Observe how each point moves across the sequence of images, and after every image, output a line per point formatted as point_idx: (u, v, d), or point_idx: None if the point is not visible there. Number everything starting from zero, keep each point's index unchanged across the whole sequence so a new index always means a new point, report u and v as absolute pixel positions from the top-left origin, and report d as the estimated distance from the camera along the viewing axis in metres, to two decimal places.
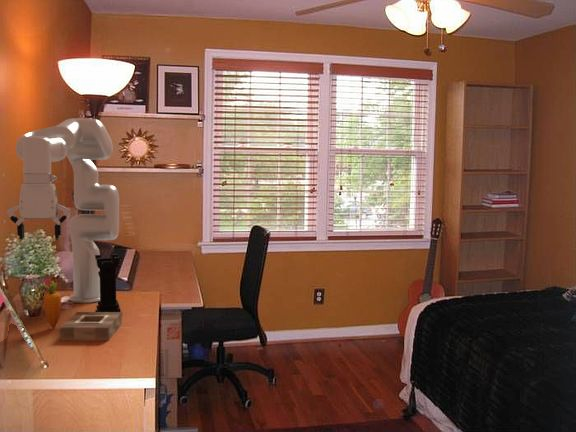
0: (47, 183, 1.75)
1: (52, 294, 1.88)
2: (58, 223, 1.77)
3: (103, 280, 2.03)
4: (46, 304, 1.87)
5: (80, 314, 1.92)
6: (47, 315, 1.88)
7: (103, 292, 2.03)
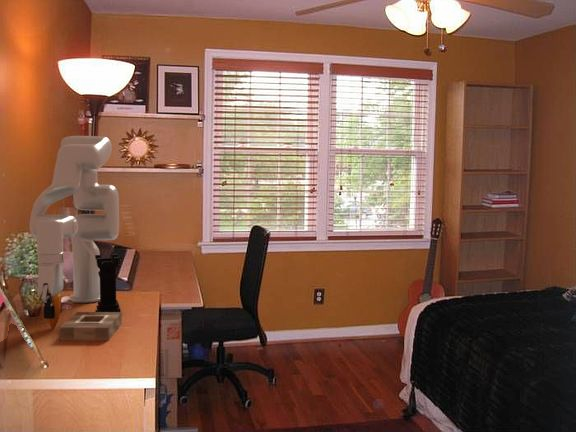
0: None
1: None
2: (60, 298, 1.92)
3: (103, 280, 2.03)
4: None
5: (80, 314, 1.92)
6: None
7: (103, 292, 2.03)
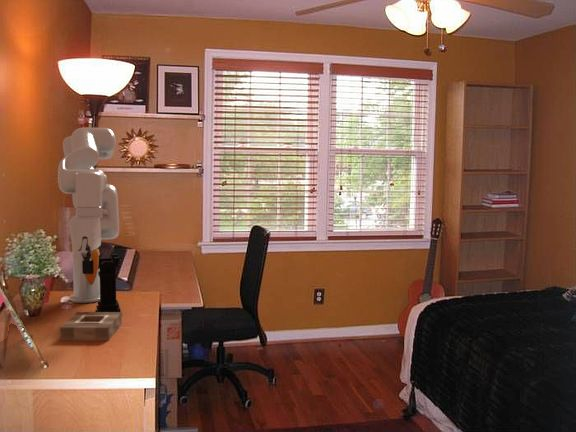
0: None
1: None
2: None
3: (103, 280, 2.03)
4: None
5: (80, 314, 1.92)
6: None
7: (103, 292, 2.03)
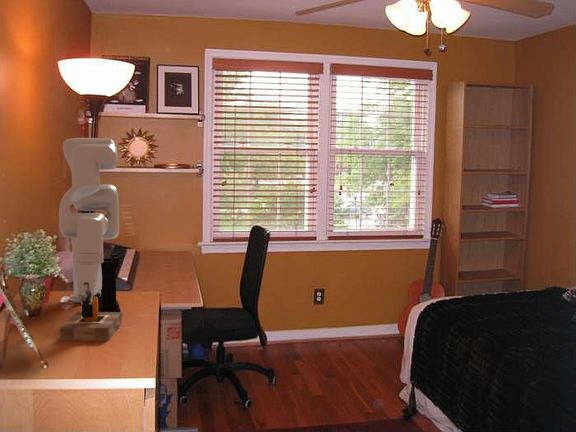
0: None
1: (89, 297, 1.84)
2: (100, 294, 1.91)
3: (103, 280, 2.03)
4: None
5: (80, 314, 1.92)
6: (85, 319, 1.85)
7: (103, 292, 2.03)
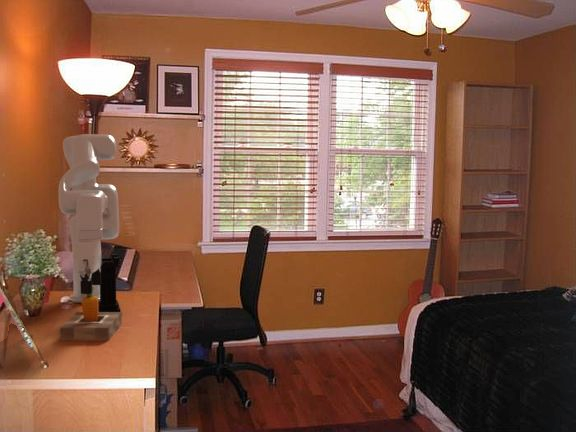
0: None
1: (90, 298, 1.84)
2: (100, 270, 1.91)
3: (103, 280, 2.03)
4: (84, 307, 1.84)
5: (80, 314, 1.92)
6: (85, 319, 1.85)
7: (103, 292, 2.03)
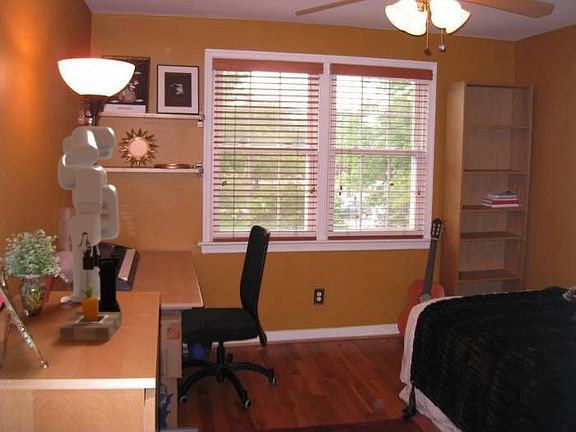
0: None
1: (89, 297, 1.84)
2: (97, 251, 1.87)
3: (103, 280, 2.03)
4: (84, 307, 1.84)
5: (80, 314, 1.92)
6: (85, 319, 1.85)
7: (103, 292, 2.03)
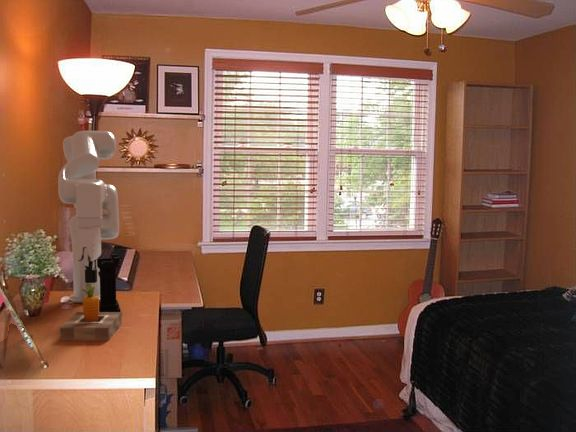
0: None
1: (91, 297, 1.85)
2: (95, 267, 1.86)
3: (103, 280, 2.03)
4: (85, 307, 1.84)
5: (80, 314, 1.92)
6: (86, 319, 1.85)
7: (103, 292, 2.03)
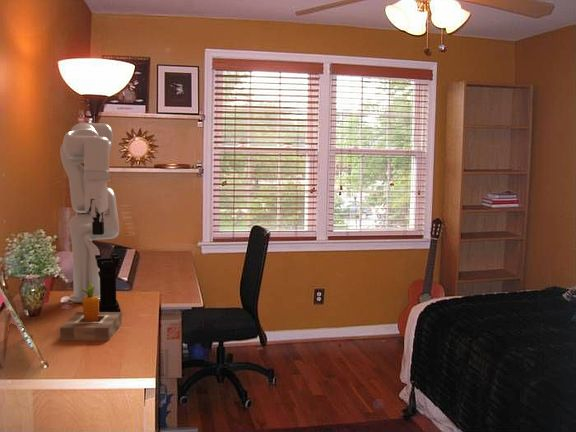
0: None
1: (90, 297, 1.85)
2: (102, 219, 1.93)
3: (103, 280, 2.03)
4: (85, 307, 1.84)
5: (80, 314, 1.92)
6: (86, 319, 1.85)
7: (103, 292, 2.03)
